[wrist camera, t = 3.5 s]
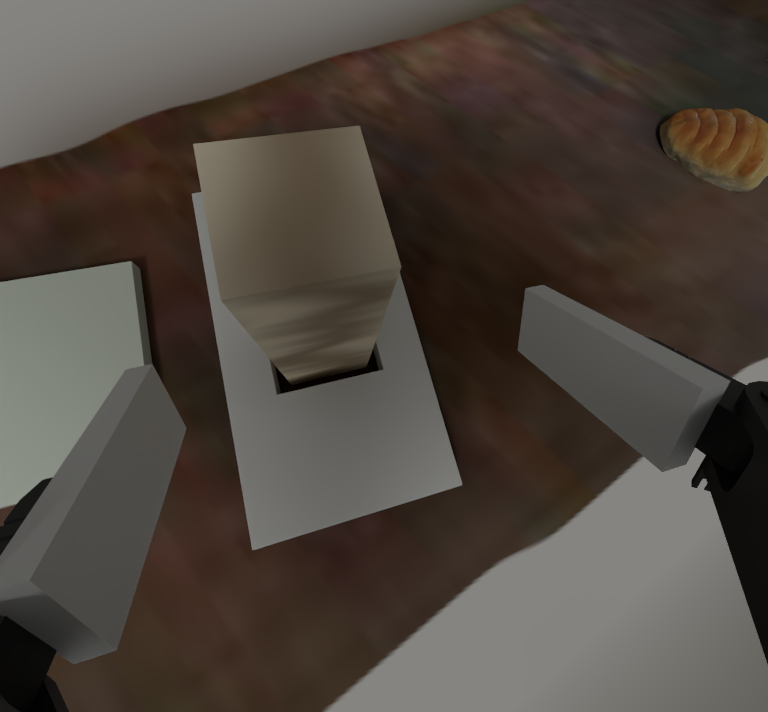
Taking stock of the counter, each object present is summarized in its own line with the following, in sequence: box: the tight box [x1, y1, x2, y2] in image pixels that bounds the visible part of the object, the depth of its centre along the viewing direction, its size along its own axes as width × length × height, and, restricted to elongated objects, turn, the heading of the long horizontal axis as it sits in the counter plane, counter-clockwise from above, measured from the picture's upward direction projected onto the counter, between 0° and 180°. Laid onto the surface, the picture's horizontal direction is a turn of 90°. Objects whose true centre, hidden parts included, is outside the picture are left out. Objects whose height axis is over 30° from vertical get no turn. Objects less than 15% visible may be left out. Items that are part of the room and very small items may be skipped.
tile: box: [0, 261, 152, 509], centre depth 20 cm, size 13×13×1 cm
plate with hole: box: [192, 192, 462, 550], centre depth 23 cm, size 12×22×2 cm, turn 15°
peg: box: [193, 126, 401, 385], centre depth 17 cm, size 5×5×14 cm
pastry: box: [660, 108, 768, 192], centre depth 31 cm, size 9×7×4 cm
